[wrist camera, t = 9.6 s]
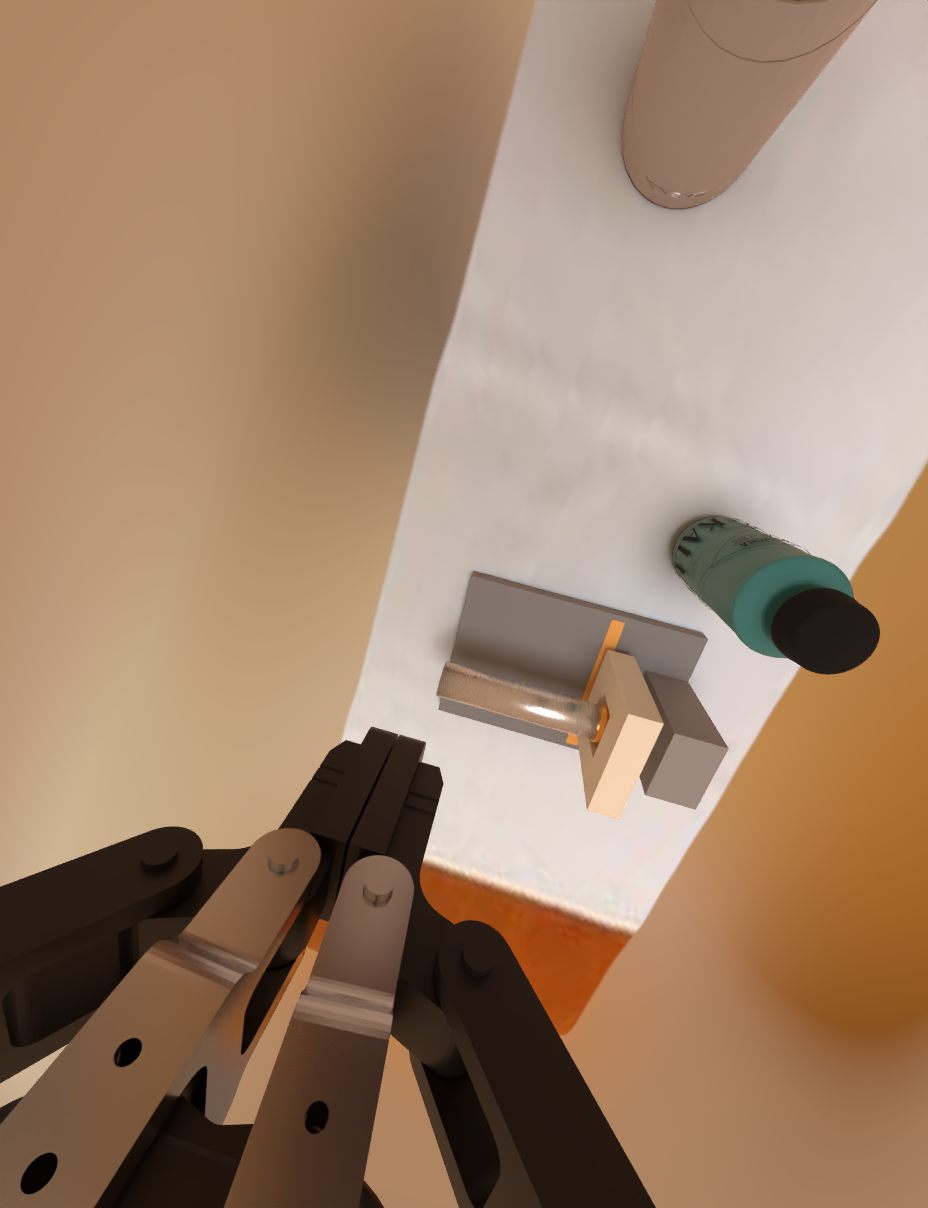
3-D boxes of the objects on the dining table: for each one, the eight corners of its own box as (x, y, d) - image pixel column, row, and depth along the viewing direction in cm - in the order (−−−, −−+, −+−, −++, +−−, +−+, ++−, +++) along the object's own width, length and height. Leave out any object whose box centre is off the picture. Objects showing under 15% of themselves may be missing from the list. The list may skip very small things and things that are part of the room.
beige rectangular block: (607, 649, 43) (628, 713, 33) (634, 656, 42) (663, 723, 33) (576, 729, 46) (587, 810, 36) (601, 736, 46) (619, 819, 36)
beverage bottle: (749, 572, 41) (924, 686, 23) (670, 591, 43) (773, 712, 24) (739, 500, 39) (919, 559, 21) (656, 523, 41) (756, 597, 22)
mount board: (473, 571, 45) (453, 614, 34) (702, 633, 44) (756, 697, 33) (441, 701, 50) (414, 774, 40) (643, 759, 49) (673, 850, 38)
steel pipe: (448, 654, 41) (441, 671, 38) (663, 714, 40) (673, 736, 37) (441, 685, 42) (433, 704, 39) (649, 744, 41) (658, 768, 38)
